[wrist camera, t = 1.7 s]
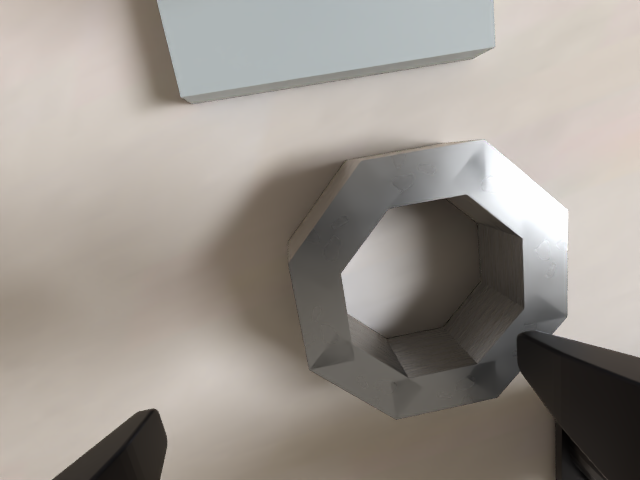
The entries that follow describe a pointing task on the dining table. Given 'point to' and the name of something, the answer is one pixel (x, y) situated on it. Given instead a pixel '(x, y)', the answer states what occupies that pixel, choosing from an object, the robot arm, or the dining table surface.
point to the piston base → (314, 41)
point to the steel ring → (477, 310)
